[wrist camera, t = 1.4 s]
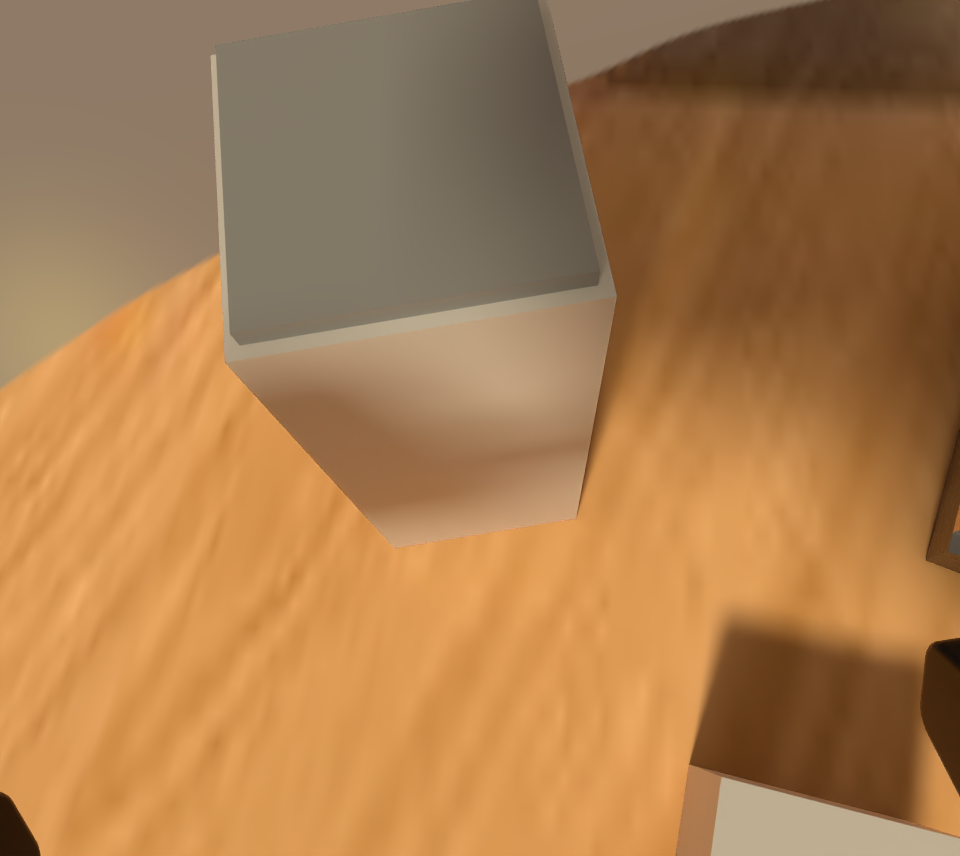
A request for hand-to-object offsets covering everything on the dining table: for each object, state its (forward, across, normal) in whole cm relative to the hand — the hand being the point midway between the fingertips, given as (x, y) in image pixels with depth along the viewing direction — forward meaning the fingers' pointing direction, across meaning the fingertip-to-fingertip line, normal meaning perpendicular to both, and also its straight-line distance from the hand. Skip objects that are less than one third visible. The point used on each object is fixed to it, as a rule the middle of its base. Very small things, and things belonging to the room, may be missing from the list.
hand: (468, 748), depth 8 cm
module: (+15, 0, +4) cm, 15 cm away
